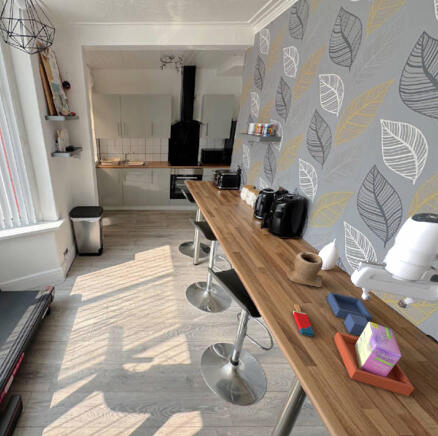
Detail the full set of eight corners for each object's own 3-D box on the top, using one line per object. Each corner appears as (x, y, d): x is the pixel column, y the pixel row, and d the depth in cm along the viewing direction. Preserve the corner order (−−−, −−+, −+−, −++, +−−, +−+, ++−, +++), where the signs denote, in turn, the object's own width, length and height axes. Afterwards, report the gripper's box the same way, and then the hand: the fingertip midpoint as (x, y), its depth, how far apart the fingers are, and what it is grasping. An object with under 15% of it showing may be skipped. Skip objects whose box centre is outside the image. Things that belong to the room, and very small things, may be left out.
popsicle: (302, 304, 96) (315, 334, 83) (301, 307, 96) (314, 337, 83) (290, 302, 97) (301, 331, 84) (289, 304, 98) (299, 333, 84)
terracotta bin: (381, 351, 79) (385, 344, 77) (408, 396, 66) (414, 388, 65) (333, 338, 83) (337, 331, 81) (350, 378, 70) (355, 370, 69)
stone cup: (288, 285, 109) (297, 257, 103) (284, 270, 119) (293, 245, 113) (326, 294, 104) (338, 266, 98) (319, 278, 114) (330, 252, 108)
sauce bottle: (328, 266, 125) (340, 236, 117) (335, 274, 118) (348, 243, 110) (311, 263, 126) (323, 234, 119) (317, 272, 119) (330, 241, 112)
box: (383, 382, 69) (402, 355, 64) (358, 371, 72) (375, 344, 67) (375, 355, 77) (392, 329, 72) (353, 346, 80) (368, 320, 75)
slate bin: (356, 305, 99) (359, 298, 97) (368, 324, 89) (372, 317, 88) (327, 298, 102) (329, 292, 100) (335, 316, 93) (339, 309, 91)
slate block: (359, 326, 88) (365, 317, 86) (365, 337, 84) (371, 327, 82) (343, 322, 90) (348, 313, 88) (349, 333, 85) (354, 323, 83)
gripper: (366, 264, 69) (348, 300, 74) (458, 281, 63) (431, 319, 68) (356, 253, 74) (340, 288, 80) (440, 267, 68) (417, 304, 74)
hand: (383, 302), depth 74 cm, fingers open, 8 cm apart
